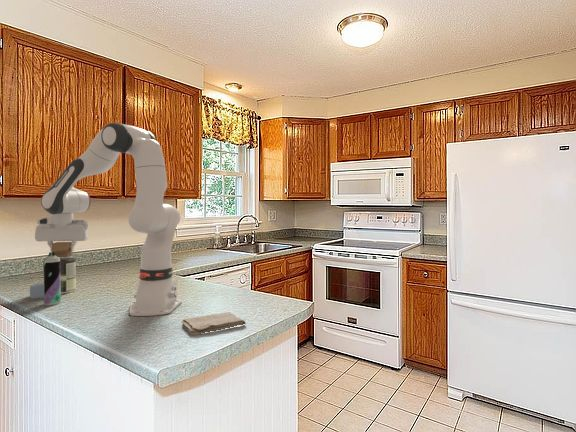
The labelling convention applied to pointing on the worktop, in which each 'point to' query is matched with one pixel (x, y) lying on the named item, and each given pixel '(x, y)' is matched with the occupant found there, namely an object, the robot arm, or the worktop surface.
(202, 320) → the washcloth
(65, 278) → the coffee can
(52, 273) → the spray can
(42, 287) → the slate block
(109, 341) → the worktop surface
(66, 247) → the walnut block
